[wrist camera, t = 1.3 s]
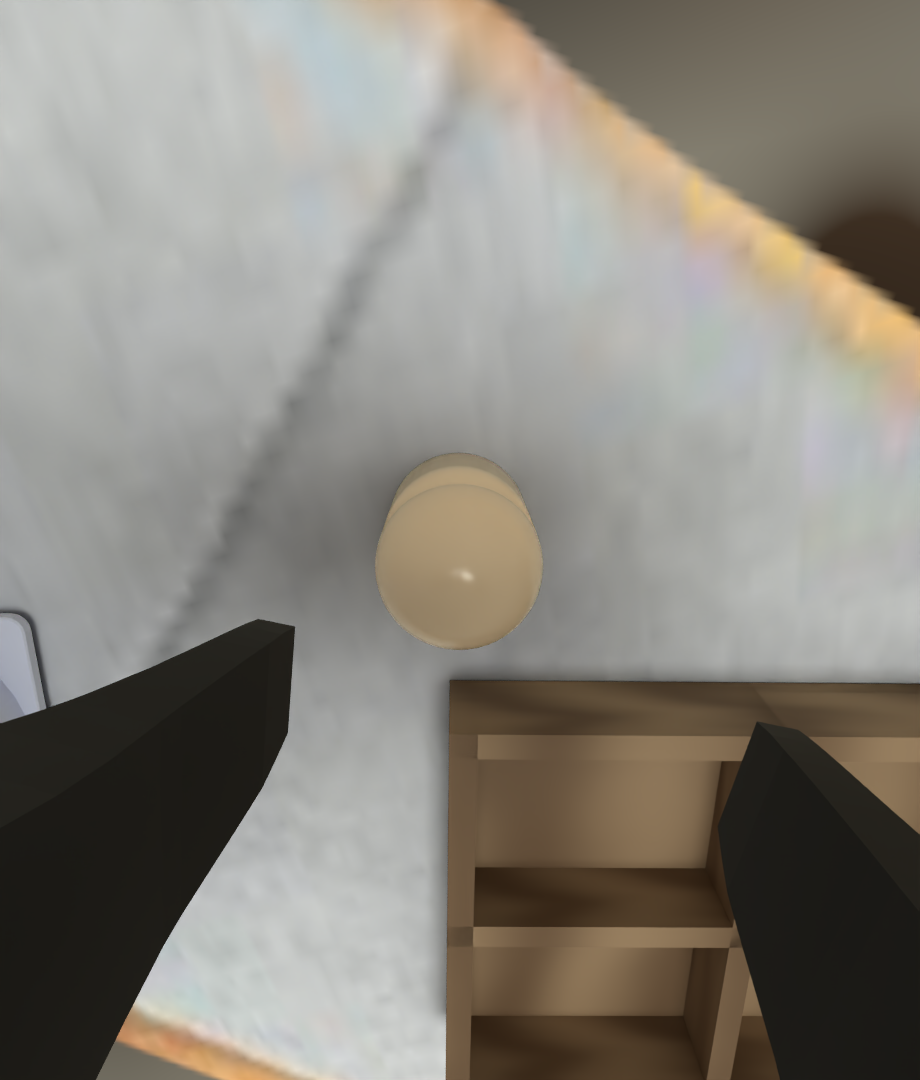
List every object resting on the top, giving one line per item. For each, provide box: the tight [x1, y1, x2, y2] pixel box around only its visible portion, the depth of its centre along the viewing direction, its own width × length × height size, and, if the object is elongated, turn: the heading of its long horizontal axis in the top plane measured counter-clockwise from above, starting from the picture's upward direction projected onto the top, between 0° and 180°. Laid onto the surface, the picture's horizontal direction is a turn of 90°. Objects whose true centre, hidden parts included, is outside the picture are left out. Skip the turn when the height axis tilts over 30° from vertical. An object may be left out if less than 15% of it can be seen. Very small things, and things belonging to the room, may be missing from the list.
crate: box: [446, 680, 920, 1080], centre depth 22 cm, size 18×14×3 cm
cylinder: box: [375, 453, 543, 650], centre depth 17 cm, size 4×4×6 cm
